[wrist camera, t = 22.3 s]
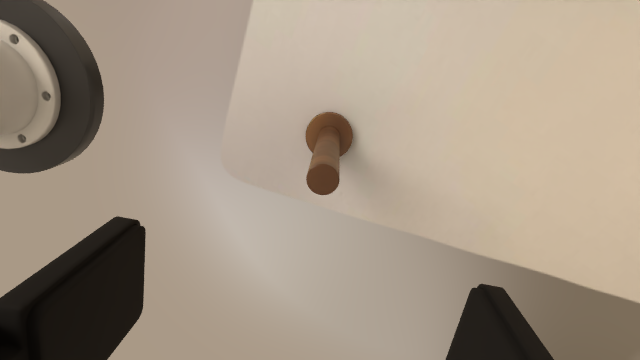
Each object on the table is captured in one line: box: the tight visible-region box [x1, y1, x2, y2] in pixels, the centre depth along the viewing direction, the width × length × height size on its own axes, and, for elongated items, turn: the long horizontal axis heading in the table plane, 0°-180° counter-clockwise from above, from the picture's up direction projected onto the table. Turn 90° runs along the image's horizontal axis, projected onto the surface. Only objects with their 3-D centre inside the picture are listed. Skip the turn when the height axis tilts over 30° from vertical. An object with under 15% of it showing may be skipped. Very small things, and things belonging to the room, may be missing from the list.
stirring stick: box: [306, 112, 353, 195], centre depth 29 cm, size 4×4×14 cm
